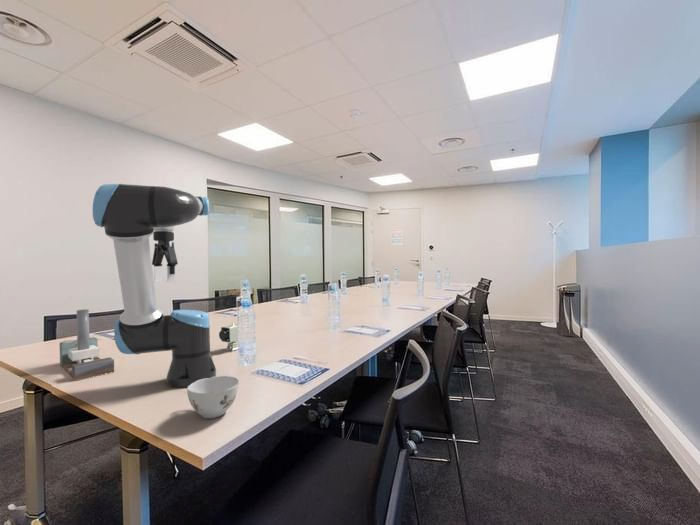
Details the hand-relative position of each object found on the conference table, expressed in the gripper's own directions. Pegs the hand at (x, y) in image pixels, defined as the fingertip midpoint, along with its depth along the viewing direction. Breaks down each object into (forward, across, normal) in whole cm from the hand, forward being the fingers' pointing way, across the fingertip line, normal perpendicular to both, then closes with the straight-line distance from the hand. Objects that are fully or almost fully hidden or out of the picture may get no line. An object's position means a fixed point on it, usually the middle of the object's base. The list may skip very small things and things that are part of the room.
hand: (164, 281), depth 136 cm
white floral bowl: (+32, -64, +13) cm, 73 cm away
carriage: (+30, +12, +25) cm, 41 cm away
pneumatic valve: (+32, -13, -23) cm, 41 cm away
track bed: (+32, +9, +25) cm, 41 cm away
